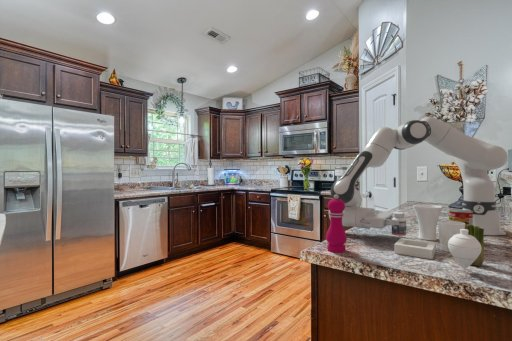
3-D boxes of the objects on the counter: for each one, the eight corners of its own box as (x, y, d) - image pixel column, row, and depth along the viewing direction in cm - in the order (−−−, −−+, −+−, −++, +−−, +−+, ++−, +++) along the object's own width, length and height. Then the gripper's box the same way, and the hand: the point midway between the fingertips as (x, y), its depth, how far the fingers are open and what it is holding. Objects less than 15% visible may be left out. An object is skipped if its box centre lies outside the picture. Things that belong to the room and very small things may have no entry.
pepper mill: (348, 253, 98) (347, 195, 98) (326, 252, 99) (326, 195, 99) (345, 247, 105) (345, 193, 105) (325, 246, 106) (325, 193, 106)
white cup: (457, 255, 96) (457, 225, 96) (433, 249, 103) (433, 221, 103) (470, 251, 100) (470, 223, 99) (446, 246, 107) (446, 219, 106)
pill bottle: (389, 233, 117) (388, 211, 117) (401, 233, 117) (401, 211, 117) (396, 236, 112) (396, 213, 112) (409, 236, 112) (409, 213, 112)
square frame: (400, 245, 107) (400, 237, 107) (435, 251, 100) (435, 242, 100) (394, 253, 98) (394, 244, 98) (432, 259, 91) (432, 249, 91)
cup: (448, 240, 115) (448, 207, 114) (429, 243, 111) (429, 208, 111) (425, 234, 124) (425, 203, 124) (407, 236, 121) (407, 205, 121)
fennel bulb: (486, 268, 83) (486, 227, 83) (466, 266, 85) (466, 226, 85) (480, 262, 88) (480, 223, 88) (461, 260, 90) (461, 222, 90)
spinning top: (452, 274, 78) (452, 231, 78) (444, 265, 85) (444, 225, 85) (486, 278, 76) (486, 233, 75) (475, 268, 83) (475, 227, 83)
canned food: (449, 236, 121) (449, 208, 120) (472, 239, 116) (472, 210, 116) (448, 240, 114) (448, 211, 114) (473, 243, 110) (473, 212, 110)
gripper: (357, 214, 114) (395, 217, 106) (372, 207, 130) (405, 210, 122) (358, 229, 114) (395, 234, 106) (372, 221, 130) (405, 225, 122)
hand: (401, 221), depth 114 cm, fingers closed on pill bottle, 5 cm apart
